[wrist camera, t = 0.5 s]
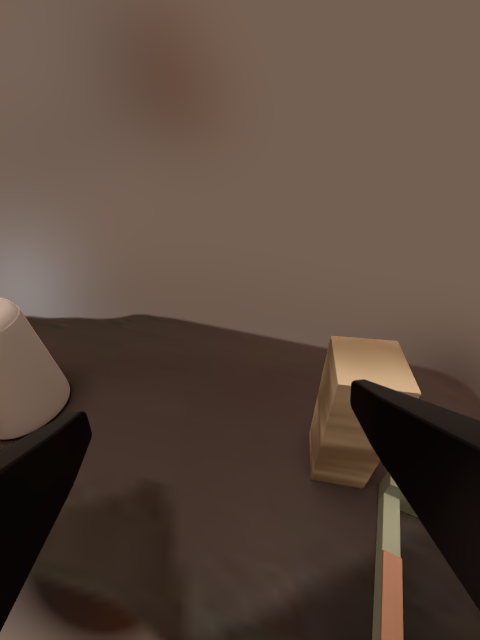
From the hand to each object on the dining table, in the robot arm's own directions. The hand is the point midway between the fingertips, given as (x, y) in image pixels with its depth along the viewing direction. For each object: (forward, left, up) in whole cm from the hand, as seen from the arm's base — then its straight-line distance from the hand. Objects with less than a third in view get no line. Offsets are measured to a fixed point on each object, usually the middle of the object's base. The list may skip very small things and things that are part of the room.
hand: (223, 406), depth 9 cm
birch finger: (+2, -9, -16) cm, 18 cm away
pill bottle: (+18, +18, -16) cm, 30 cm away
